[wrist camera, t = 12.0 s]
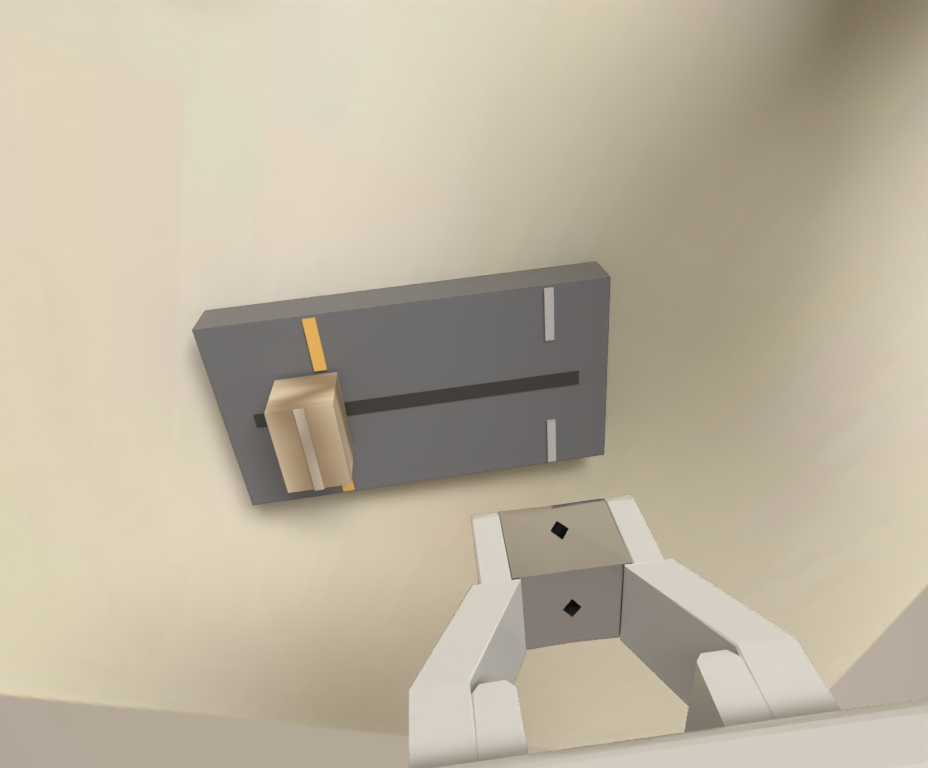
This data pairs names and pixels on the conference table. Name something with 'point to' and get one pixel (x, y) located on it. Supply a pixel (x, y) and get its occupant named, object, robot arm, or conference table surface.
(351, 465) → the fader tab
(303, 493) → the fader console
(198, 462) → the conference table surface
